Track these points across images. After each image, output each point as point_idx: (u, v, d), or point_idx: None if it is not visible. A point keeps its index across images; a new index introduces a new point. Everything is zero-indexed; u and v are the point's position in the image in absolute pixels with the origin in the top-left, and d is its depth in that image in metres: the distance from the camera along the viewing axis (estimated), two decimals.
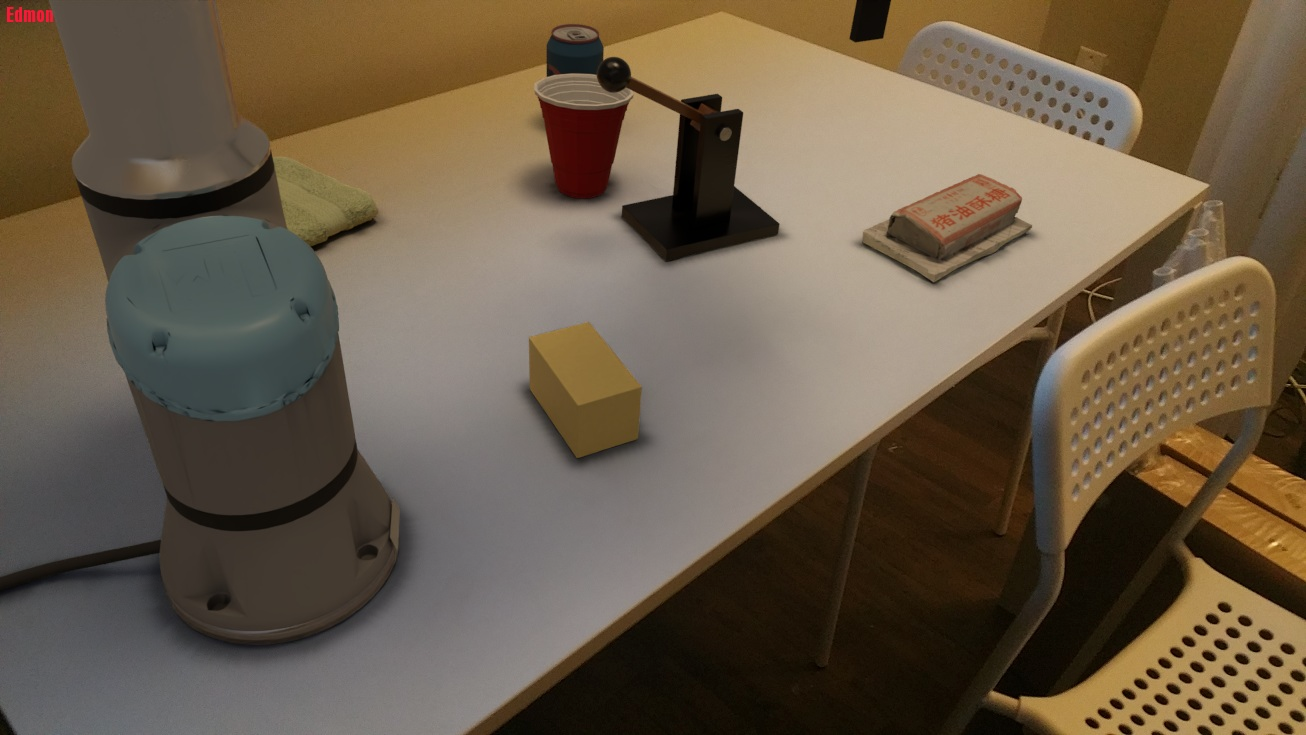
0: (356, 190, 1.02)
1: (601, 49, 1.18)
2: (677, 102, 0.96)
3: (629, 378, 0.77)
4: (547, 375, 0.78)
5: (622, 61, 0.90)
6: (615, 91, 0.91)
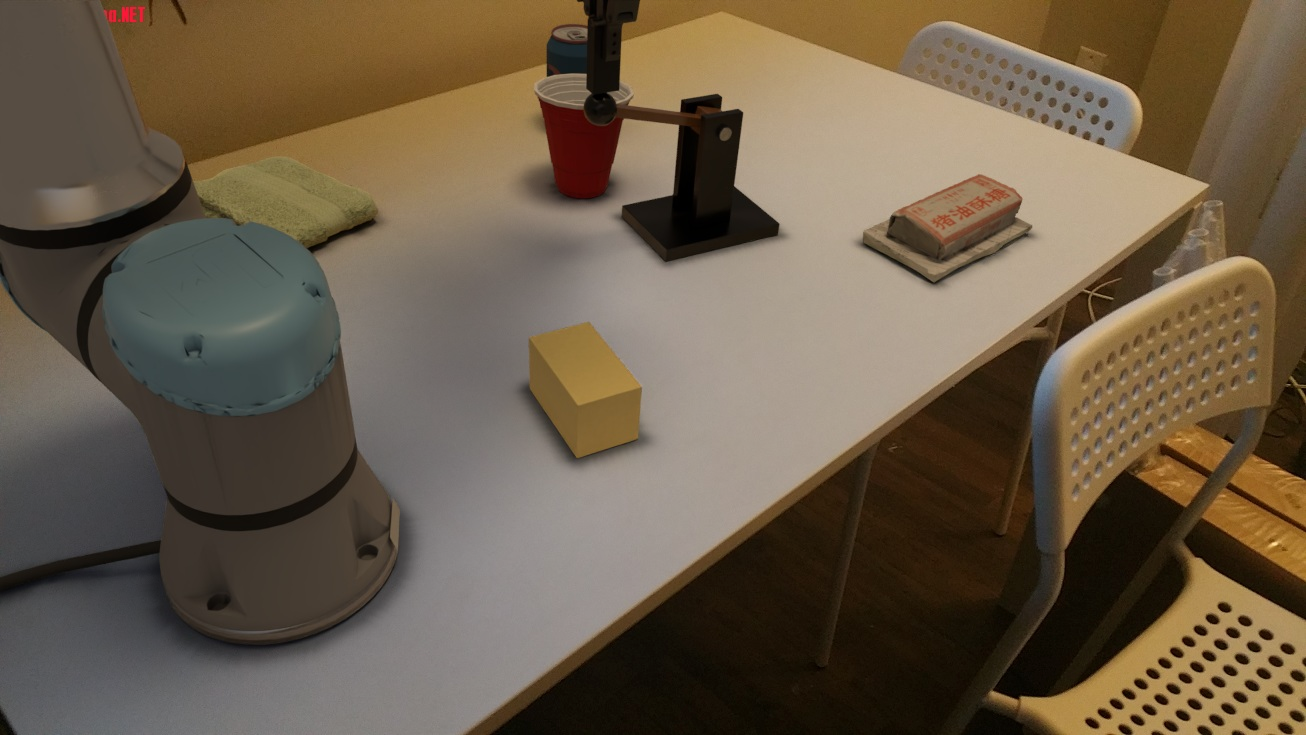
0: (356, 190, 1.02)
1: None
2: (670, 115, 0.96)
3: (629, 378, 0.77)
4: (547, 375, 0.78)
5: (605, 95, 0.92)
6: (604, 125, 0.93)
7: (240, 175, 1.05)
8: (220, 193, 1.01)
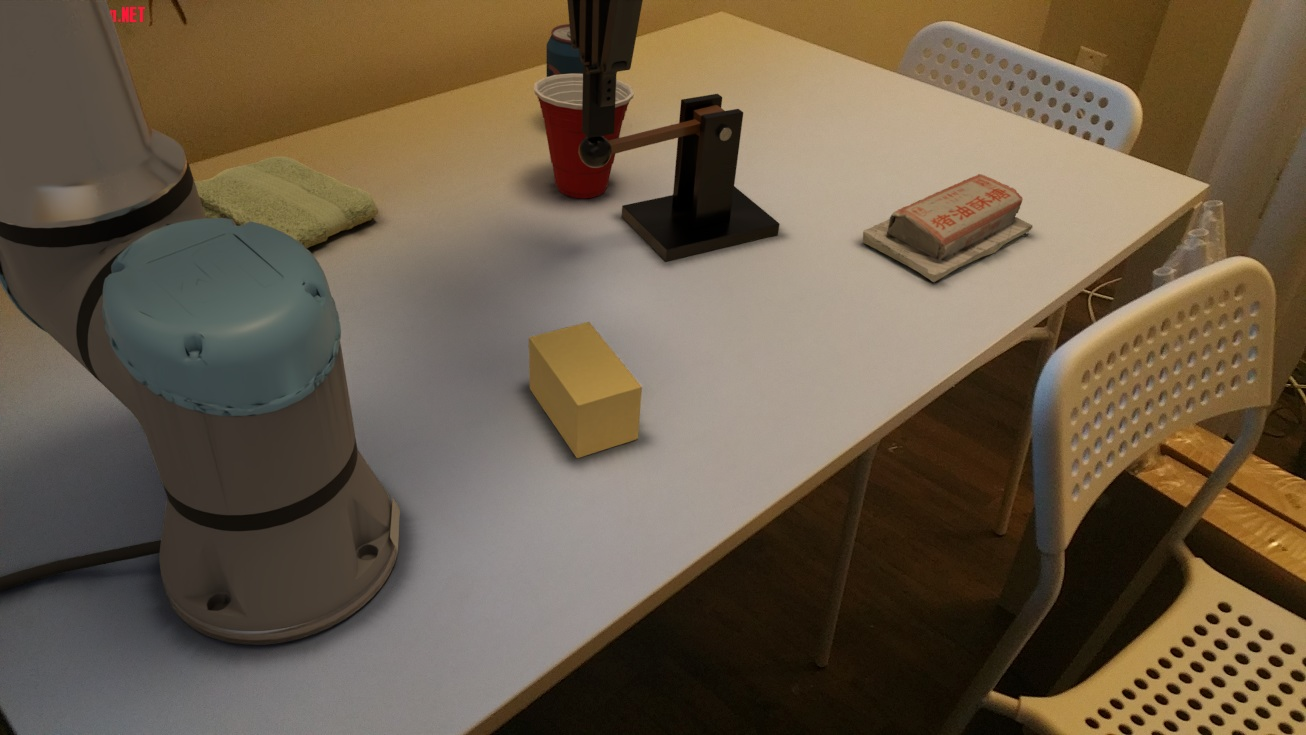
0: (356, 190, 1.02)
1: None
2: (667, 132, 0.97)
3: (629, 378, 0.77)
4: (547, 375, 0.78)
5: (595, 139, 0.94)
6: (603, 165, 0.95)
7: (240, 175, 1.05)
8: (220, 193, 1.01)
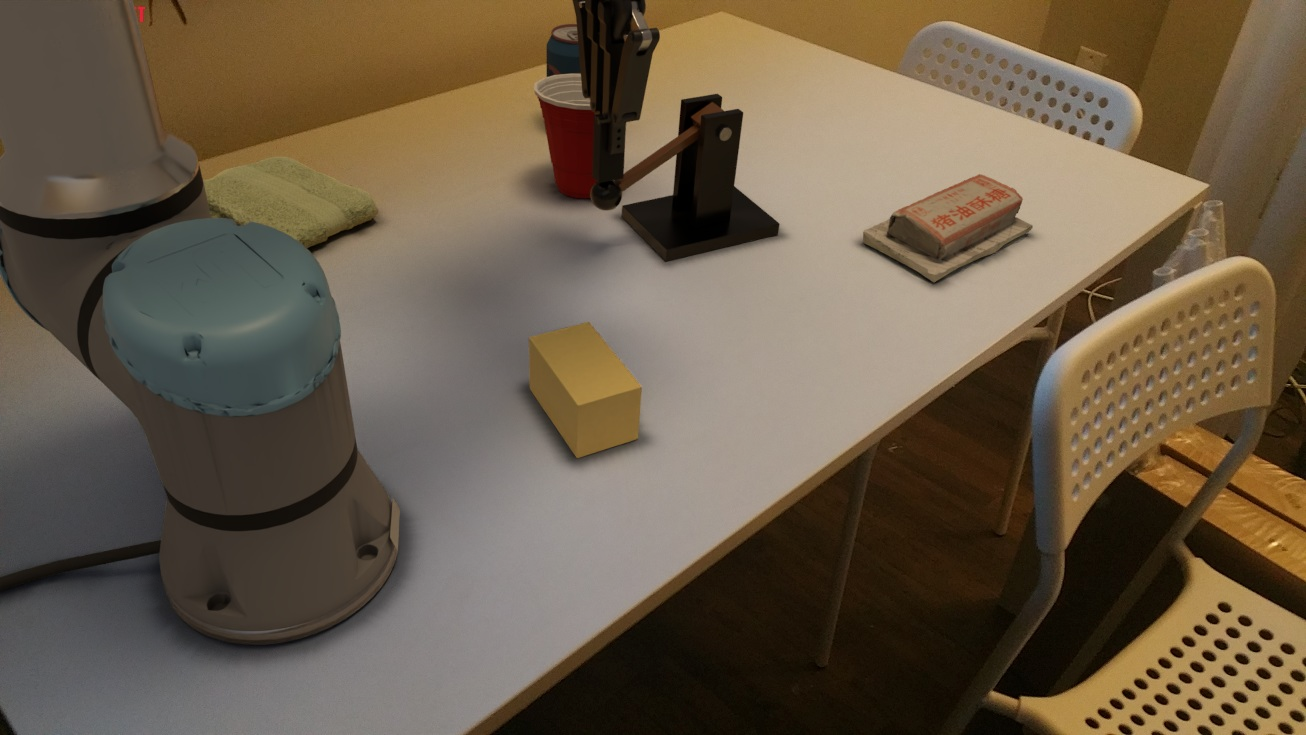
0: (356, 190, 1.02)
1: None
2: (669, 151, 0.99)
3: (629, 378, 0.77)
4: (547, 375, 0.78)
5: (601, 187, 0.97)
6: (617, 205, 0.99)
7: (240, 175, 1.05)
8: (220, 193, 1.01)
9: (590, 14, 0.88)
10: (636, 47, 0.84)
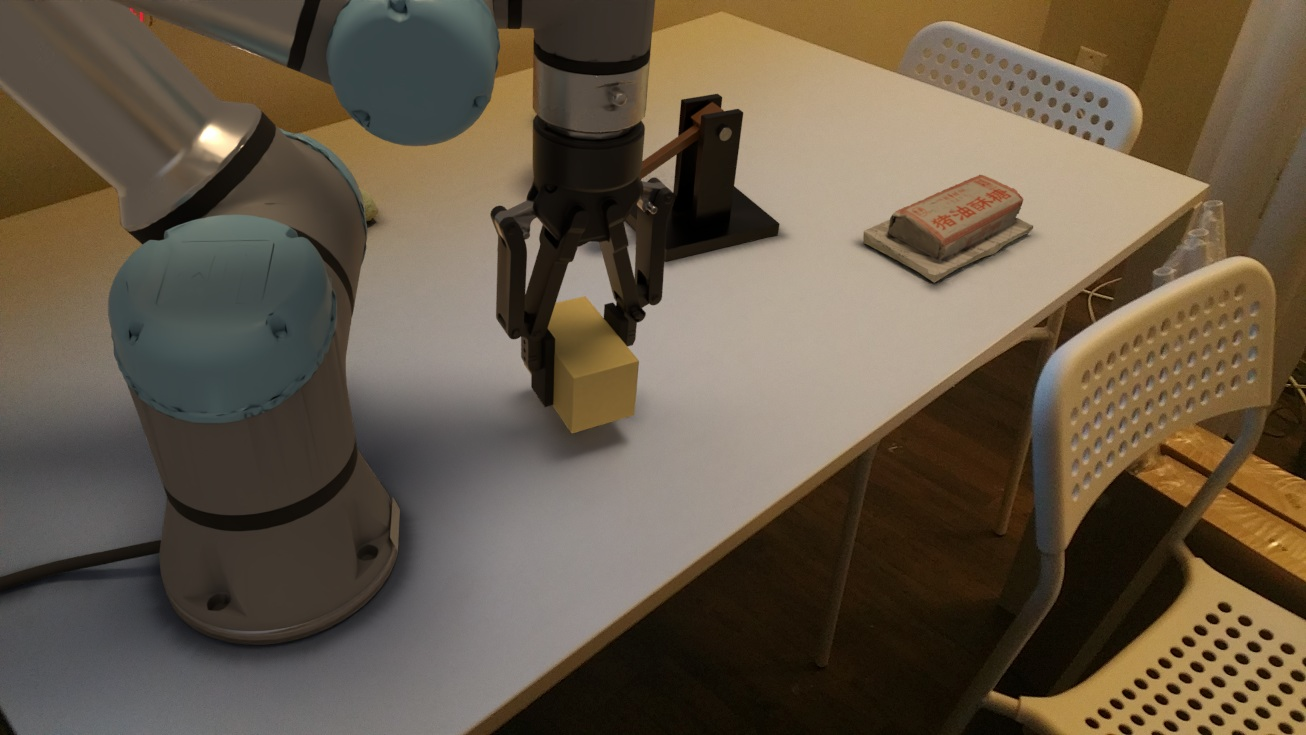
0: None
1: None
2: (669, 151, 0.99)
3: (626, 352, 0.75)
4: None
5: None
6: None
7: None
8: None
9: None
10: (495, 225, 0.68)
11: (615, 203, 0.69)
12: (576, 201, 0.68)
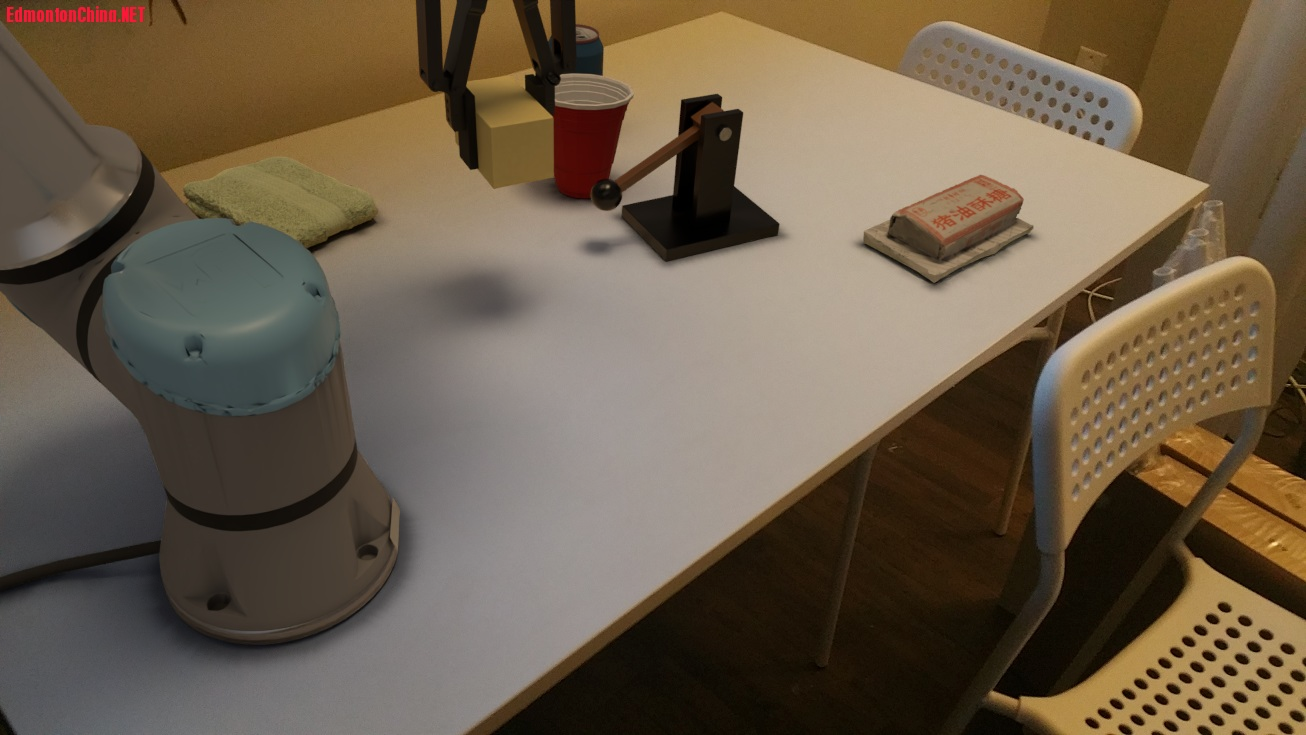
0: (356, 190, 1.02)
1: (601, 49, 1.18)
2: (669, 151, 0.99)
3: (542, 111, 0.81)
4: None
5: (601, 187, 0.97)
6: (617, 205, 0.99)
7: (240, 175, 1.05)
8: (220, 193, 1.01)
9: None
10: None
11: None
12: None
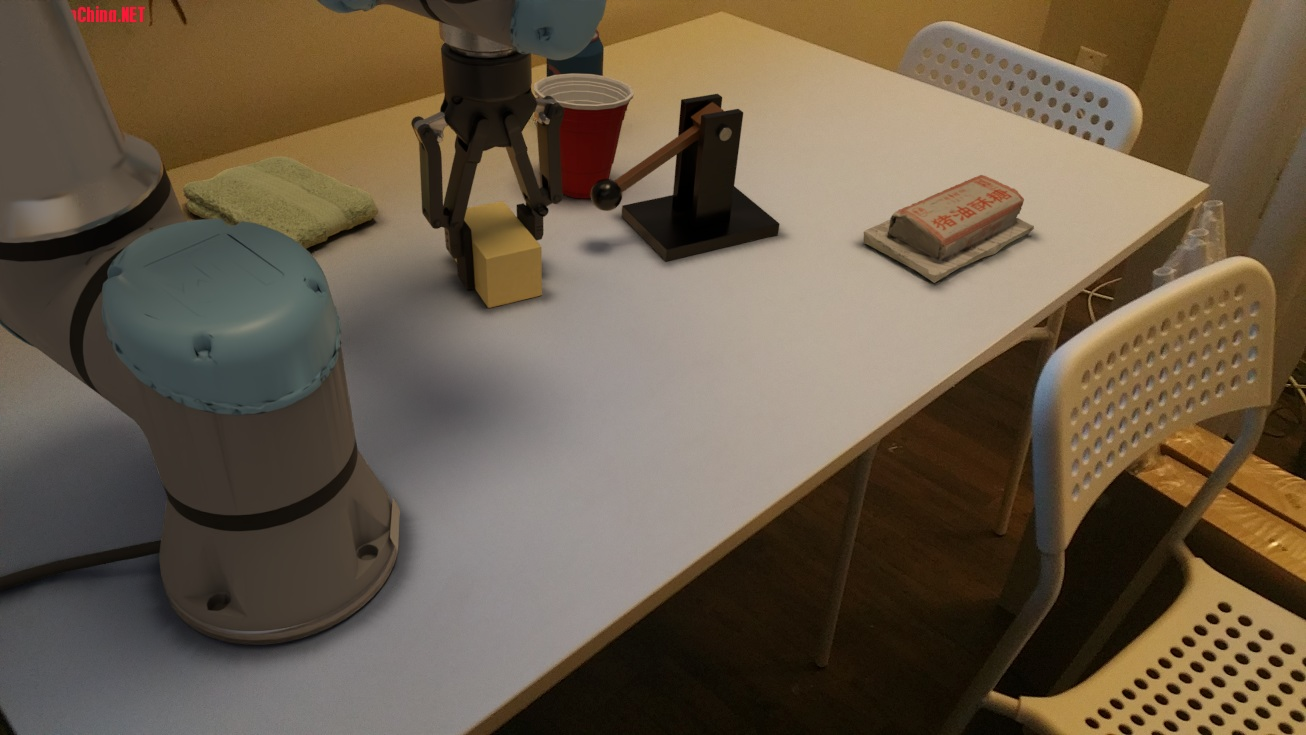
0: (356, 190, 1.02)
1: (601, 49, 1.18)
2: (669, 151, 0.99)
3: (531, 240, 0.92)
4: None
5: (601, 187, 0.97)
6: (617, 205, 0.99)
7: (240, 175, 1.05)
8: (220, 193, 1.01)
9: None
10: (415, 132, 0.85)
11: (512, 113, 0.86)
12: (479, 111, 0.85)
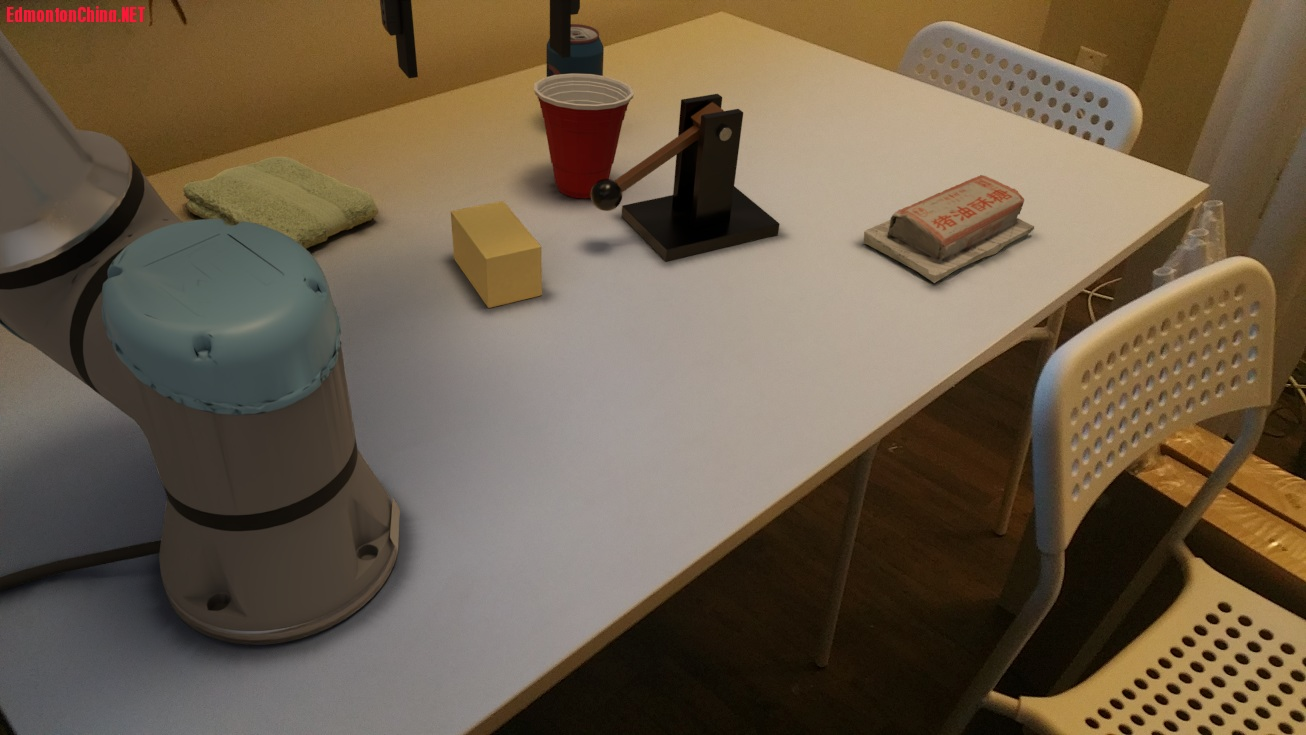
0: (356, 190, 1.02)
1: (601, 49, 1.18)
2: (669, 151, 0.99)
3: (531, 240, 0.92)
4: (464, 240, 0.94)
5: (601, 187, 0.97)
6: (617, 205, 0.99)
7: (240, 175, 1.05)
8: (220, 193, 1.01)
9: None
10: None
11: None
12: None
